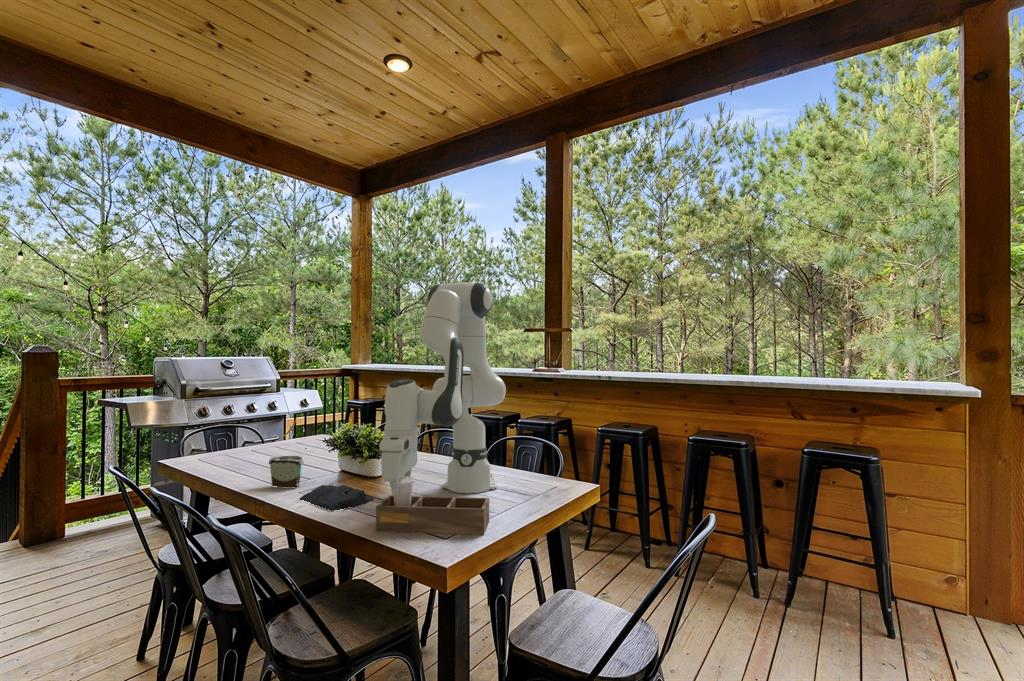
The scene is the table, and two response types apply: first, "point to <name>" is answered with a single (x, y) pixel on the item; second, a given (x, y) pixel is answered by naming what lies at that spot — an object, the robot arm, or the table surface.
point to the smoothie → (404, 491)
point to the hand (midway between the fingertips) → (400, 489)
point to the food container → (286, 471)
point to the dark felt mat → (336, 497)
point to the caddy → (434, 515)
